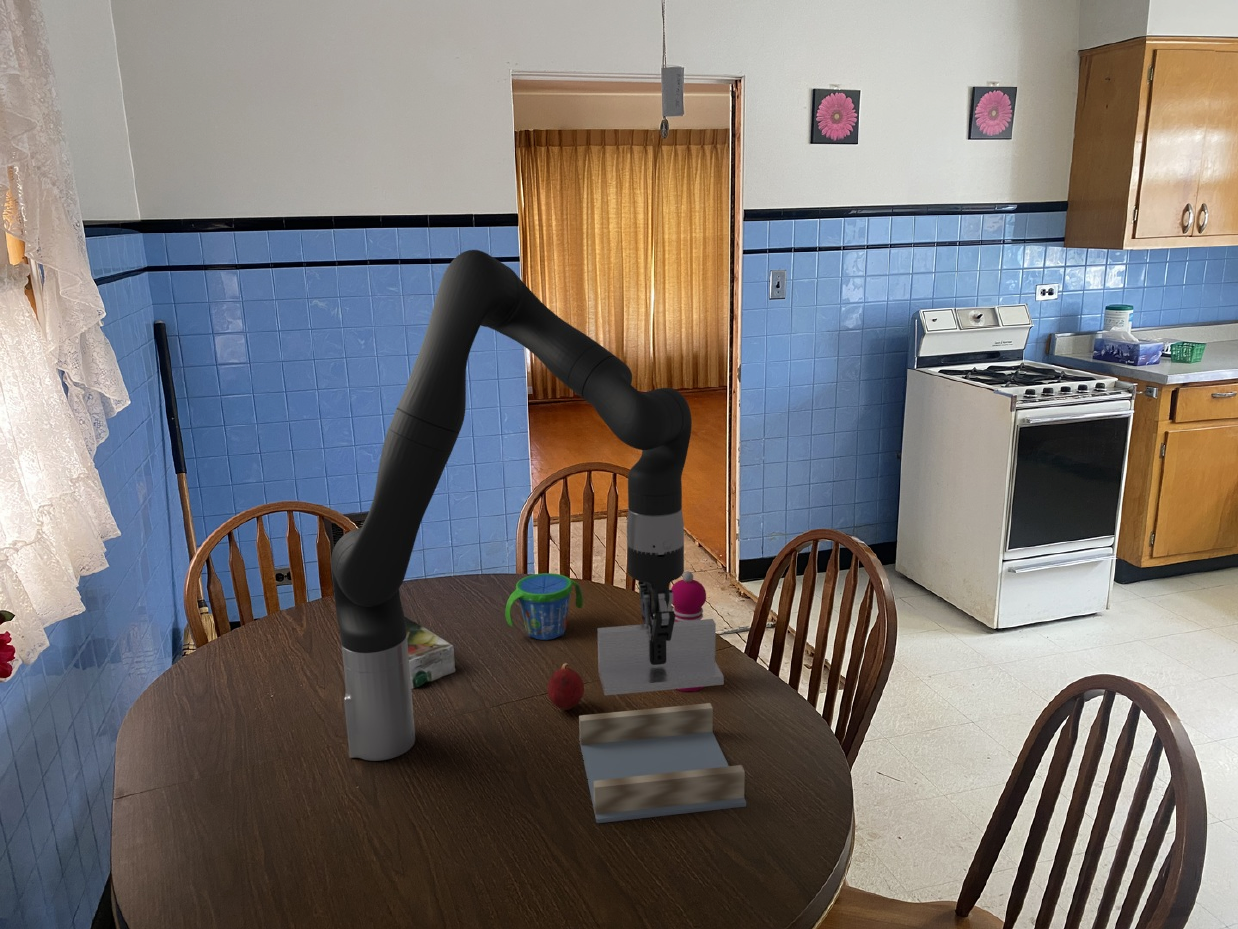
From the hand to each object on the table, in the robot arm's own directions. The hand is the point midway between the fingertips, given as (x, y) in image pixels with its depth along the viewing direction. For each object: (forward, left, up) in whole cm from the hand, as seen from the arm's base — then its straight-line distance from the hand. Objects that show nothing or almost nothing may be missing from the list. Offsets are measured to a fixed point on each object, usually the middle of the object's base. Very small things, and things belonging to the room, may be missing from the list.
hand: (656, 659), depth 123 cm
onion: (-11, +19, -17) cm, 28 cm away
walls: (0, 0, -17) cm, 17 cm away
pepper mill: (+10, +24, -17) cm, 31 cm away
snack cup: (-12, +48, -17) cm, 52 cm away
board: (0, 0, -17) cm, 17 cm away
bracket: (0, -2, -2) cm, 3 cm away
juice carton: (-38, +40, -18) cm, 58 cm away
